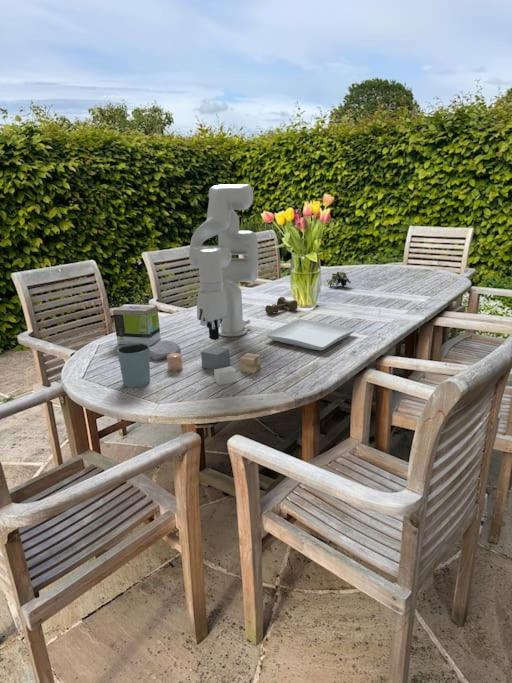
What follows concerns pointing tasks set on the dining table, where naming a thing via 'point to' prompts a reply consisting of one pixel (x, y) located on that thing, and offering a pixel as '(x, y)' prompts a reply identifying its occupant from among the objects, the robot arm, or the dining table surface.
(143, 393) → the dining table surface
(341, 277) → the miniature tree
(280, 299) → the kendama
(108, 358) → the dining table surface
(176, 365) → the terracotta cylinder
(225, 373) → the pale grey block
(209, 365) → the slate block
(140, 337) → the tea box
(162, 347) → the stone block
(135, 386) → the blue-grey cup
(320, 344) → the square plate
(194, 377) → the dining table surface
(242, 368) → the oak cube
